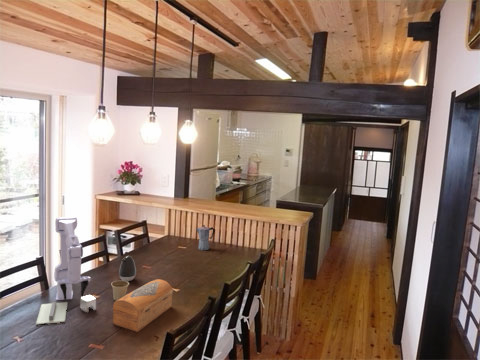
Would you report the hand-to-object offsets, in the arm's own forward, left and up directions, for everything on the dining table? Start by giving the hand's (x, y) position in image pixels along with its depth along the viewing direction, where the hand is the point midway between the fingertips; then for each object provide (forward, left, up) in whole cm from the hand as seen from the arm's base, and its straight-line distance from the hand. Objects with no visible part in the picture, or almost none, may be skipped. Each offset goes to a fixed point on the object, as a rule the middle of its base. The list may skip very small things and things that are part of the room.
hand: (73, 297), depth 181 cm
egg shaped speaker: (-41, +29, -10) cm, 51 cm away
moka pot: (-95, +94, -10) cm, 134 cm away
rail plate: (-4, -9, -10) cm, 14 cm away
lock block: (-6, +7, -10) cm, 13 cm away
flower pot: (-15, +23, -10) cm, 29 cm away
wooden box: (+6, +33, -10) cm, 35 cm away
